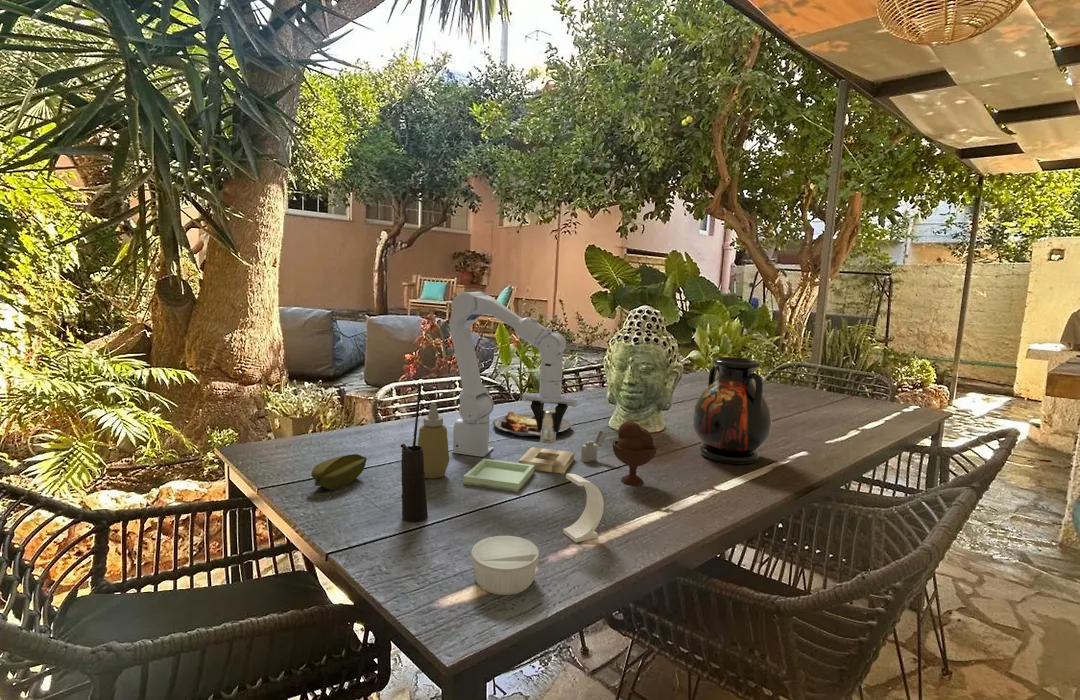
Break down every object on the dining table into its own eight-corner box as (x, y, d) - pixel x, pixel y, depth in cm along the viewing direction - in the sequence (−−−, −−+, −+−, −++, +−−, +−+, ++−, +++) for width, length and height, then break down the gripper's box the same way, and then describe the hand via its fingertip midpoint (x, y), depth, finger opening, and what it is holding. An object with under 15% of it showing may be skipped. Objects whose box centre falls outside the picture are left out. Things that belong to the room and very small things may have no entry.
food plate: (481, 433, 180) (482, 422, 180) (507, 416, 202) (508, 406, 202) (560, 444, 173) (560, 432, 173) (578, 425, 195) (578, 415, 195)
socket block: (518, 467, 150) (518, 460, 150) (531, 454, 162) (531, 447, 162) (563, 473, 147) (564, 466, 147) (573, 459, 159) (574, 452, 159)
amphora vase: (673, 449, 172) (681, 355, 168) (728, 442, 182) (736, 353, 178) (727, 473, 153) (737, 368, 149) (785, 463, 163) (795, 364, 159)
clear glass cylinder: (538, 442, 152) (539, 412, 151) (542, 438, 156) (543, 409, 155) (553, 444, 151) (554, 414, 150) (557, 440, 155) (558, 410, 154)
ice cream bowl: (627, 492, 137) (632, 430, 135) (601, 476, 147) (605, 418, 144) (663, 486, 142) (668, 426, 140) (635, 471, 151) (639, 415, 149)
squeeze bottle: (454, 472, 145) (456, 401, 143) (438, 483, 138) (440, 408, 135) (426, 467, 148) (427, 397, 145) (408, 477, 140) (409, 404, 138)
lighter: (584, 462, 157) (585, 433, 156) (580, 460, 159) (582, 431, 157) (605, 459, 161) (607, 430, 160) (601, 457, 162) (603, 429, 161)
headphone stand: (563, 532, 115) (566, 473, 113) (588, 527, 117) (592, 469, 116) (575, 542, 111) (579, 481, 109) (601, 536, 113) (605, 477, 112)
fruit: (313, 477, 138) (313, 450, 137) (366, 474, 142) (366, 447, 141) (311, 496, 127) (310, 467, 126) (368, 491, 131) (368, 463, 130)
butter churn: (377, 514, 119) (377, 379, 115) (417, 502, 126) (419, 374, 122) (401, 530, 113) (402, 387, 109) (442, 517, 119) (445, 382, 115)
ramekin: (503, 608, 88) (505, 576, 88) (455, 580, 96) (456, 550, 95) (552, 581, 97) (553, 551, 96) (504, 557, 104) (505, 529, 103)
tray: (462, 484, 138) (463, 475, 137) (483, 466, 151) (483, 458, 150) (518, 492, 134) (518, 483, 134) (534, 472, 147) (534, 465, 147)
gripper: (519, 379, 150) (517, 431, 151) (575, 385, 146) (572, 437, 148) (527, 375, 156) (525, 424, 158) (580, 380, 153) (577, 430, 155)
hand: (548, 430), depth 153 cm, fingers closed on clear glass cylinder, 4 cm apart
